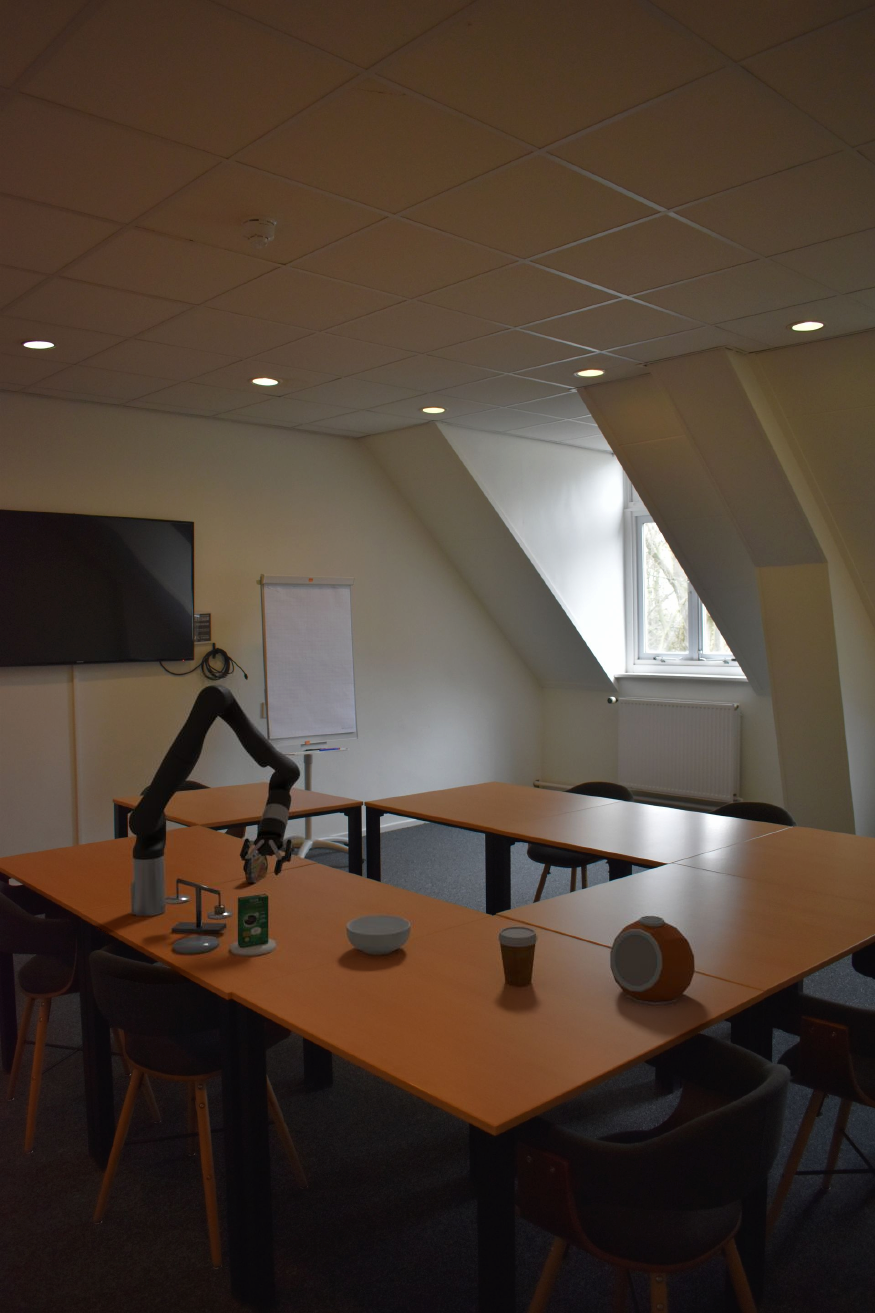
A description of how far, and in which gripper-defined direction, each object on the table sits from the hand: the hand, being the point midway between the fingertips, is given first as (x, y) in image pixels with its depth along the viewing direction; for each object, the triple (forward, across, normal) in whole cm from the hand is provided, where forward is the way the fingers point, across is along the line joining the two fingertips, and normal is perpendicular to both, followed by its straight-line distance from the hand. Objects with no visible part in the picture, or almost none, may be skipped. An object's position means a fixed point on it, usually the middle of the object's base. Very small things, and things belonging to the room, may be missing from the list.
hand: (261, 873), depth 260 cm
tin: (-29, -23, +56) cm, 67 cm away
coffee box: (+18, 0, +6) cm, 19 cm away
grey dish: (+19, -16, +7) cm, 25 cm away
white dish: (+19, 0, +7) cm, 20 cm away
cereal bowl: (+17, +34, +9) cm, 39 cm away
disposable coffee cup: (+30, +72, -5) cm, 79 cm away
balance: (+9, -21, +17) cm, 28 cm away
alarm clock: (+33, +103, -8) cm, 109 cm away
